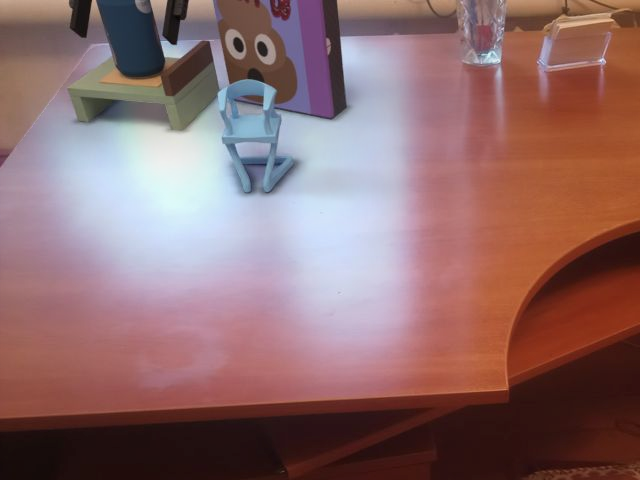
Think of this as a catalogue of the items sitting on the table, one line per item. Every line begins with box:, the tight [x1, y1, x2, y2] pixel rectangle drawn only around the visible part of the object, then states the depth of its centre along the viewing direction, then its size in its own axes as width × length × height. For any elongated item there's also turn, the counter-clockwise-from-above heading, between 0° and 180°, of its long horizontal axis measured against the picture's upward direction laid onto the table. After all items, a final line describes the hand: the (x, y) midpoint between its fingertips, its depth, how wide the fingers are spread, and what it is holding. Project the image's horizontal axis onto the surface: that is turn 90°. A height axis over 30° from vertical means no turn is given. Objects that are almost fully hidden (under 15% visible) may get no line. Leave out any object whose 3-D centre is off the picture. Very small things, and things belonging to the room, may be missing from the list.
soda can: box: [95, 0, 166, 79], centre depth 103 cm, size 7×7×12 cm
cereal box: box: [212, 0, 347, 120], centre depth 104 cm, size 17×5×24 cm, turn 69°
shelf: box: [66, 39, 221, 131], centre depth 108 cm, size 16×14×8 cm
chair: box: [217, 79, 294, 193], centre depth 91 cm, size 8×8×12 cm
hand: (123, 37), depth 102 cm, fingers open, 13 cm apart
